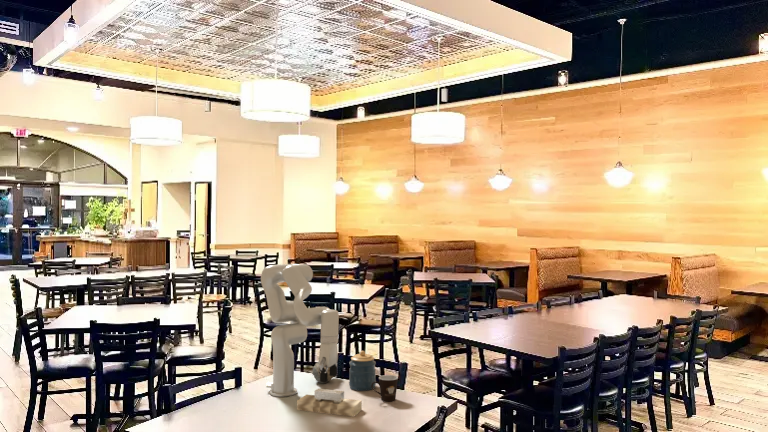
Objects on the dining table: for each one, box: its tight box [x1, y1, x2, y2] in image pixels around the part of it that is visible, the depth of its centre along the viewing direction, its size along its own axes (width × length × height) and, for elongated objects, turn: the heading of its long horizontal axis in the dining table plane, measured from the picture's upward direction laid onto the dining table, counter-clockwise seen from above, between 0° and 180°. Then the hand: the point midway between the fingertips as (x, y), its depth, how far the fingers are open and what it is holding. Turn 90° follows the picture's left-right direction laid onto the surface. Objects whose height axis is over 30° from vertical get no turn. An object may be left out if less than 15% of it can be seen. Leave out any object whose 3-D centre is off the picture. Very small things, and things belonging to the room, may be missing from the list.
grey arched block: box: [314, 388, 345, 404], centre depth 248 cm, size 12×4×8 cm, turn 71°
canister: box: [348, 350, 377, 392], centre depth 282 cm, size 13×13×18 cm
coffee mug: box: [371, 374, 399, 403], centre depth 262 cm, size 12×9×10 cm
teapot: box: [312, 361, 335, 384], centre depth 292 cm, size 21×12×15 cm, turn 168°
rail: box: [296, 394, 363, 418], centre depth 248 cm, size 26×9×4 cm, turn 71°
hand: (328, 378), depth 249 cm, fingers open, 9 cm apart
